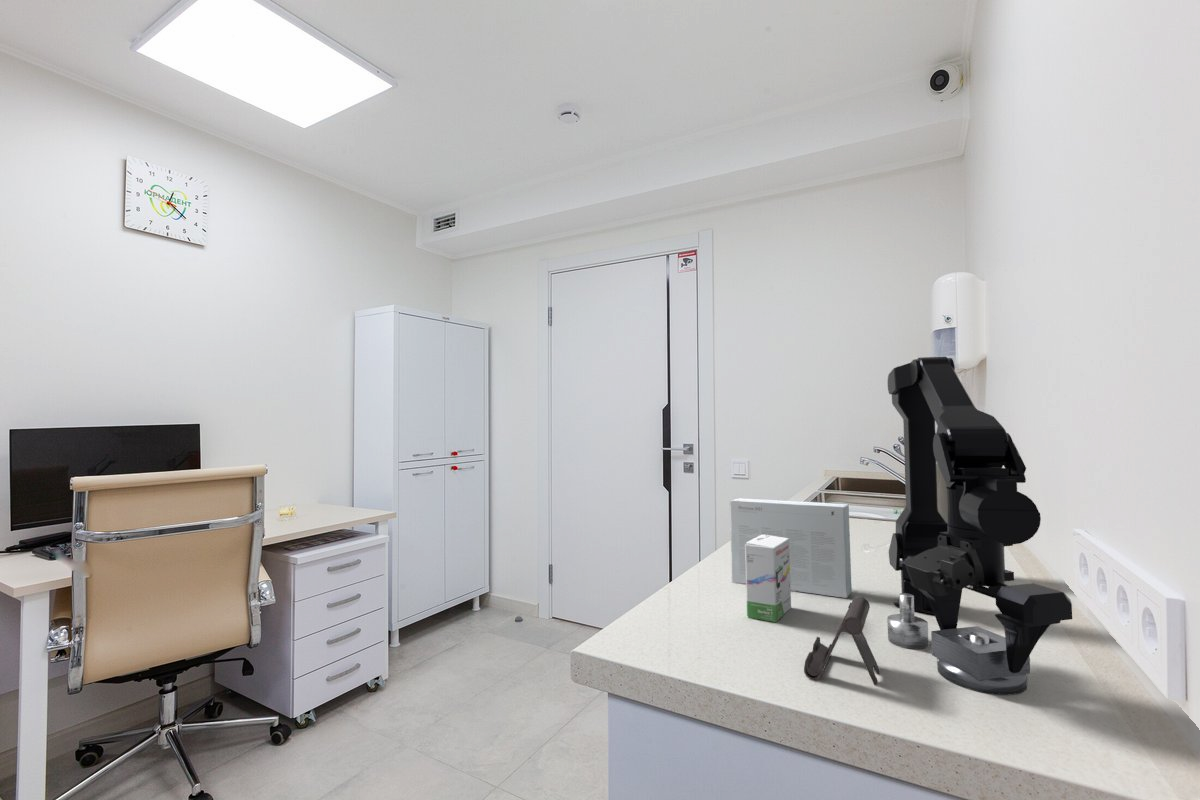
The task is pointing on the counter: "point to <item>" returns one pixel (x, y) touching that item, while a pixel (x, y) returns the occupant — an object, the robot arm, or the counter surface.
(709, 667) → the counter surface
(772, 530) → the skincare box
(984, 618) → the counter surface
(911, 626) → the threaded levelling foot
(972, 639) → the hub
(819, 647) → the portable electronic device stand
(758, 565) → the ink box
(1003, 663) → the grey square ring block
